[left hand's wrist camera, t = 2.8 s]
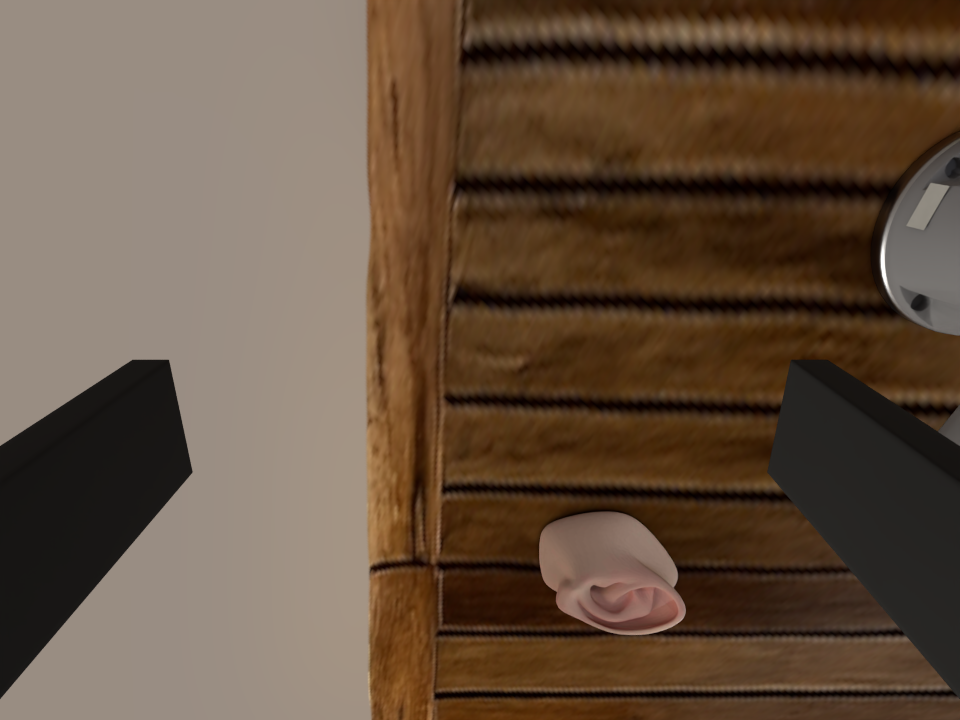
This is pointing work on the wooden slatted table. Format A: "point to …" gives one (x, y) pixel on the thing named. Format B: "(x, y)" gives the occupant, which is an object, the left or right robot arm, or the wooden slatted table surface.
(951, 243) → the left robot arm
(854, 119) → the wooden slatted table surface
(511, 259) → the wooden slatted table surface
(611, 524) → the anatomical model
